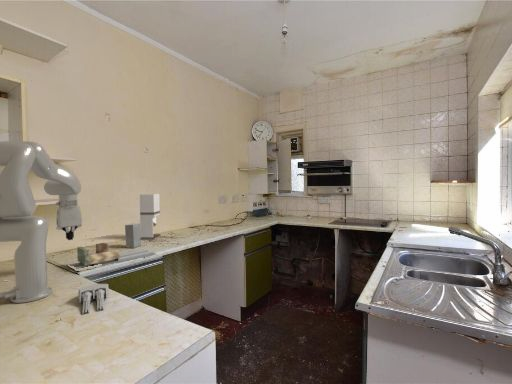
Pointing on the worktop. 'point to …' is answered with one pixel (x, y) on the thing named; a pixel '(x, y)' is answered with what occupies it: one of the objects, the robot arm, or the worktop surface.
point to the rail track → (123, 258)
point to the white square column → (149, 215)
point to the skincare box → (133, 235)
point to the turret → (93, 296)
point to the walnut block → (101, 248)
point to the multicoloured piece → (95, 256)
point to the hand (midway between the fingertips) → (70, 239)
